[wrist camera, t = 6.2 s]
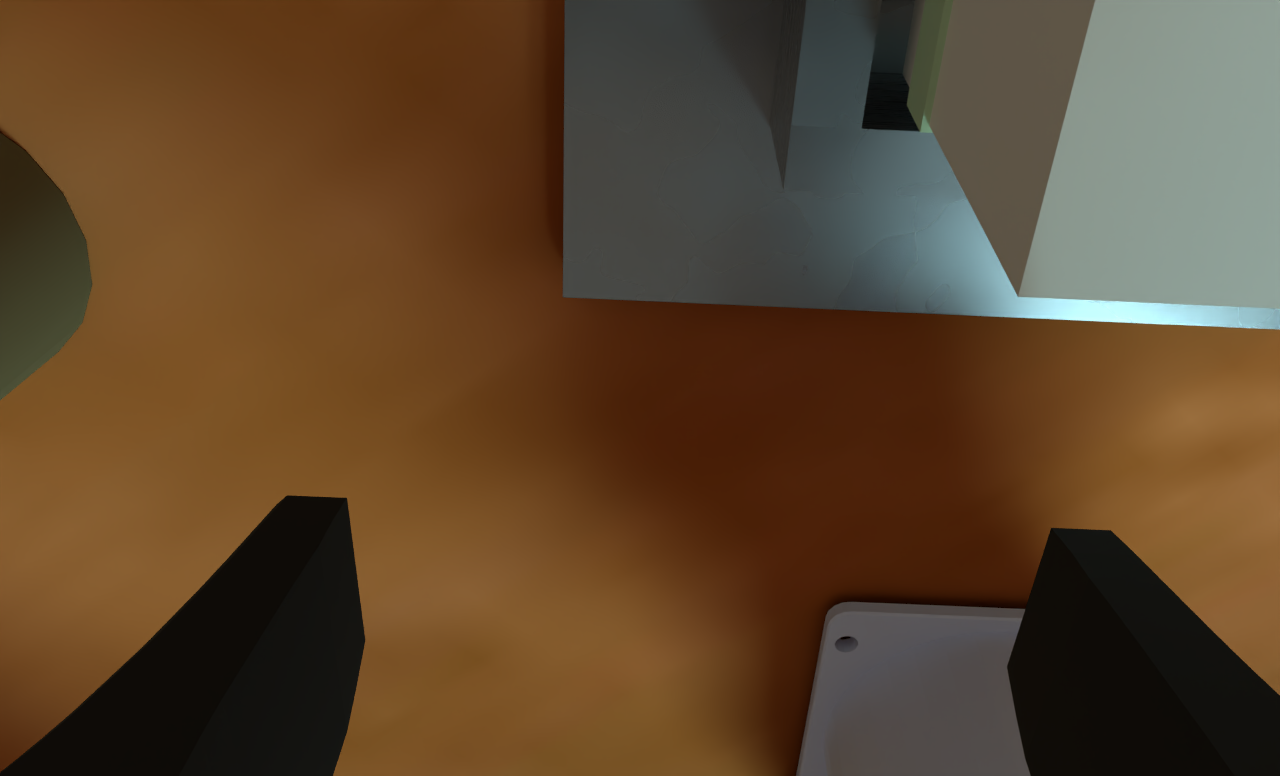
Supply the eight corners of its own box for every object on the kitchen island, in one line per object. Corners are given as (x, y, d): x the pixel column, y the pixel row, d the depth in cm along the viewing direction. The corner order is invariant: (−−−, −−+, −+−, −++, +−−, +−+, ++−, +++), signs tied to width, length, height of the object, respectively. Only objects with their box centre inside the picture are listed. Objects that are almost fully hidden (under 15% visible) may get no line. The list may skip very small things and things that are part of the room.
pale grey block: (1182, 93, 17) (1430, 324, 11) (894, 80, 17) (1004, 305, 11) (1285, -233, 14) (1658, -137, 9) (950, -249, 14) (1125, -164, 9)
